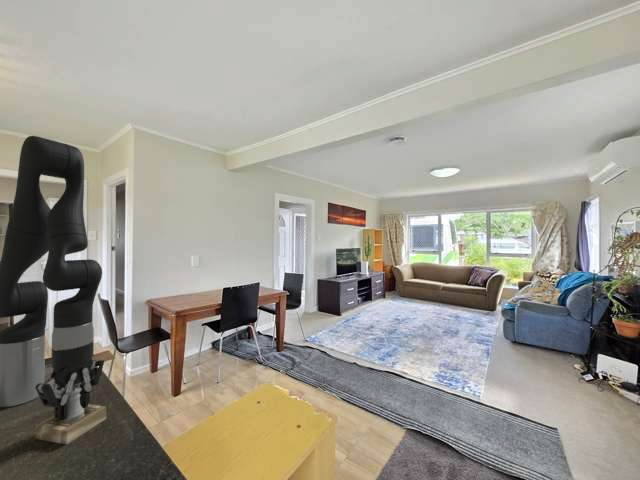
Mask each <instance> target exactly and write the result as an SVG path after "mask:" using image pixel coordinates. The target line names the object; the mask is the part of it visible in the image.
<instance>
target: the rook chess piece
mask: <svg viewBox="0 0 640 480" xmlns="http://www.w3.org/2000/svg"><path fill="white" fill-rule="evenodd" d="M81 390H82V388H81V387H80V385H79V384H78V385H77V384H75V385H74V386H72V390H71V392H70V393H69V394H68V398H67V401H66V403H67V418H66V419H65V420H63V421H60V423H62V424H68V425H70V424H72V423H73V422H75V421H77V420H78V419H80V418H81V417H83V416H84V415H85V413H84V408H82V406H81V405H80V396H81V395H80V394H79V393H80V391H81Z"/></svg>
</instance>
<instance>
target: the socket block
mask: <svg viewBox="0 0 640 480" xmlns="http://www.w3.org/2000/svg"><path fill="white" fill-rule="evenodd" d="M84 413H85V415H84V416H83V417H81V418H80V419H78V420H77V421H75V422H73V423H72V424H70V425H68V424H62V423H60V421H61V420H57V419H55V417H54V415H52V416H51V417H49V418H47V419H45V420H43V421H42V422H39V423H37V424H35V439H36V440H41V441H46V442H50V443H51V442H52V443H56V444H62V445H69V444H70V443H71V442H73V441H75V440H76V439H78V438H79V437H81V436H82V435H84V434H85V433H87V432H89V431H90V430H91V429H93V428H94V427H96V426H98V425H99V424H100V423H101V422H103V421H105V420H107V406H105V405H98V404H90V403H88V406H87V407H85V408H84Z"/></svg>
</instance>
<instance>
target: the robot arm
mask: <svg viewBox="0 0 640 480" xmlns="http://www.w3.org/2000/svg"><path fill="white" fill-rule="evenodd" d="M19 154H20V155H19V161H18V163H19V164H18V169H17V170H18V172H17V179H16V187H15V188H16V190H15V194H14V198H13V204H12V207H11V211H10V215H9V219H8V221H7V222H8V223H7V226H6V232H5V235H4V243H3V249H2V253H1V259H0V319H1V318H3V319H4V318H11V317H17V316H23V315H24V317H22V318H21V319H20V320H18V322H16V323H14V324H12V325H10V326H8V327H6V328H3V329H1V330H0V408H9V407H10V408H11V407H15V406H19V405H22V404H25V403H28V402H30V401H33V400H35V399H37V398H39V399H40V402H41V403H42V405H43V406H44V407H51V408H54V409H53V410H54V411H53V412H54V413H53V414H54V415H53V416H54V417H55V419H57V420H61V421H63V420H65V419H66V418H67V403H66V401H67V398H68V394H69V393H70V392H71V390H72V387H74V385H76V384H77V385H78V384H79V385H80V387H81V388H82V390H81V391H80V393H79V394H80V395H81V396H80V405H81V406H82V408H85V407H87V406H88V404H90V401H91V390H92V388H93V387H94V386H97V385H99V381H100V378H101V375H102V371H103V369H104V368H103V367H104V365H105V360H101V359H93V357H94V351H95V350H94V347H95V346H94V341H95V339H94V338H95V337H94V335H95V332H94V331H95V330H94V324H93V316H94V315H93V312H94V311H93V308H94V307H93V306H94V301H95V297H96V294H97V292H98V289H99V285H100V283H101V280H102V277H103V268H102V266H101V265H100V263H99V262H98V261H97V260H95V259H74V260H73V259H71V260H70V259H69V260H68V259H67V260H66V256H67V255H71V254H76V253H80V252H82V251H85V250H86V249H87V248H88V246H89V243H88V236H87V235H88V234H87V229H86V224H85V217H84V197H85V194H84V193H85V191H84V190H85V162H84V161H85V160H84V156H83V152H82V151H81V150H80V148H79V147H77V146H74V145H70V144H67V143H64V142H61V141H56V140H53V139H50V138H45V137H41V136H37V135H29V136H27V137H26V138H25V140H24V141H23V143H22V145H21V150H20V153H19ZM41 176H46V177H47V176H48V177H51V178H52V177H53V178H58V179H62V180H63V179H64V181H65V189H64V191H63V193H62V195H61V196H60V198H58V199H57V201H56V202H55V203H54V205H53V206H52V207H50V206H49V204H48V203H47V201H46V200H45V198H44V196H43V193H42V192H41V191H42V190H41V187H40V181H41V180H40V178H41ZM47 253H48V255H47V260H46V263H45V266H44V270H43V274H42V281H40V280H39V281H38V280H37V281H36V280H35V281H34V280H33V281H24V282H22V281H21V282H19V280H20V279H21V277H22V276H23V274H24V273H25V272H26V271H27V270H28V269H29V268H30V267H31V266H33V265H34V264H35V263H37V262H38V261H39V260H40V259H42V258H43V256H45V255H46V254H47ZM48 289H49V290H50V291H51V292H61V291H69V290H77V289H78V291H77V292H76V294H74V295H73V296H71V297H68V298H65V299H62V300H60V301H57V302H55V304H54V306H53V320H52V321H53V323H52V324H53V325H52V326H53V327H52V334H51V367H52V373H51V375H50V378H48V379H47V380H46V381H45V376H46V375H45V368H46V367H45V361H46V360H45V359H46V358H45V357H46V355H45V352H46V351H45V350H46V349H45V348H46V346H45V345H46V339H45V338H46V326H47V315H48V301H49V290H48ZM54 384H55V386H54ZM77 385H76V386H77ZM53 389H54V390H53Z"/></svg>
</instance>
